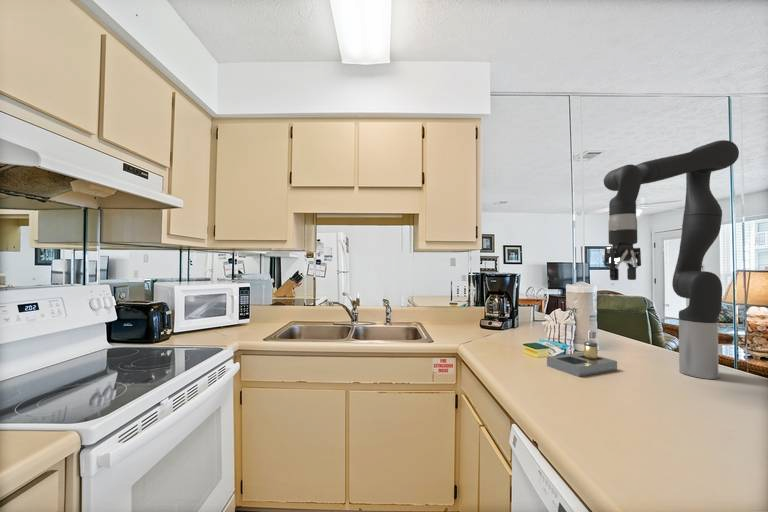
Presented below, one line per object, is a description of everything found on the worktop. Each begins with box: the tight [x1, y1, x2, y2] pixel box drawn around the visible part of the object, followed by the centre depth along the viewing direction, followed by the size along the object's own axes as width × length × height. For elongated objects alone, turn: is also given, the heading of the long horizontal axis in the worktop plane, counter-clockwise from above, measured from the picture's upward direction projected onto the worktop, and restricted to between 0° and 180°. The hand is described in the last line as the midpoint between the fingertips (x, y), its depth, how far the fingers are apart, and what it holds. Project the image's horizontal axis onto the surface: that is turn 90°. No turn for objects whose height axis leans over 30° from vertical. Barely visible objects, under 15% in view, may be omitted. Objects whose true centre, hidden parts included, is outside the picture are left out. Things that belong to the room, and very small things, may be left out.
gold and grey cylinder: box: [583, 341, 599, 361], centre depth 114 cm, size 4×4×8 cm
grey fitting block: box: [546, 351, 618, 377], centre depth 113 cm, size 18×12×3 cm, turn 112°
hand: (623, 280), depth 106 cm, fingers open, 8 cm apart
